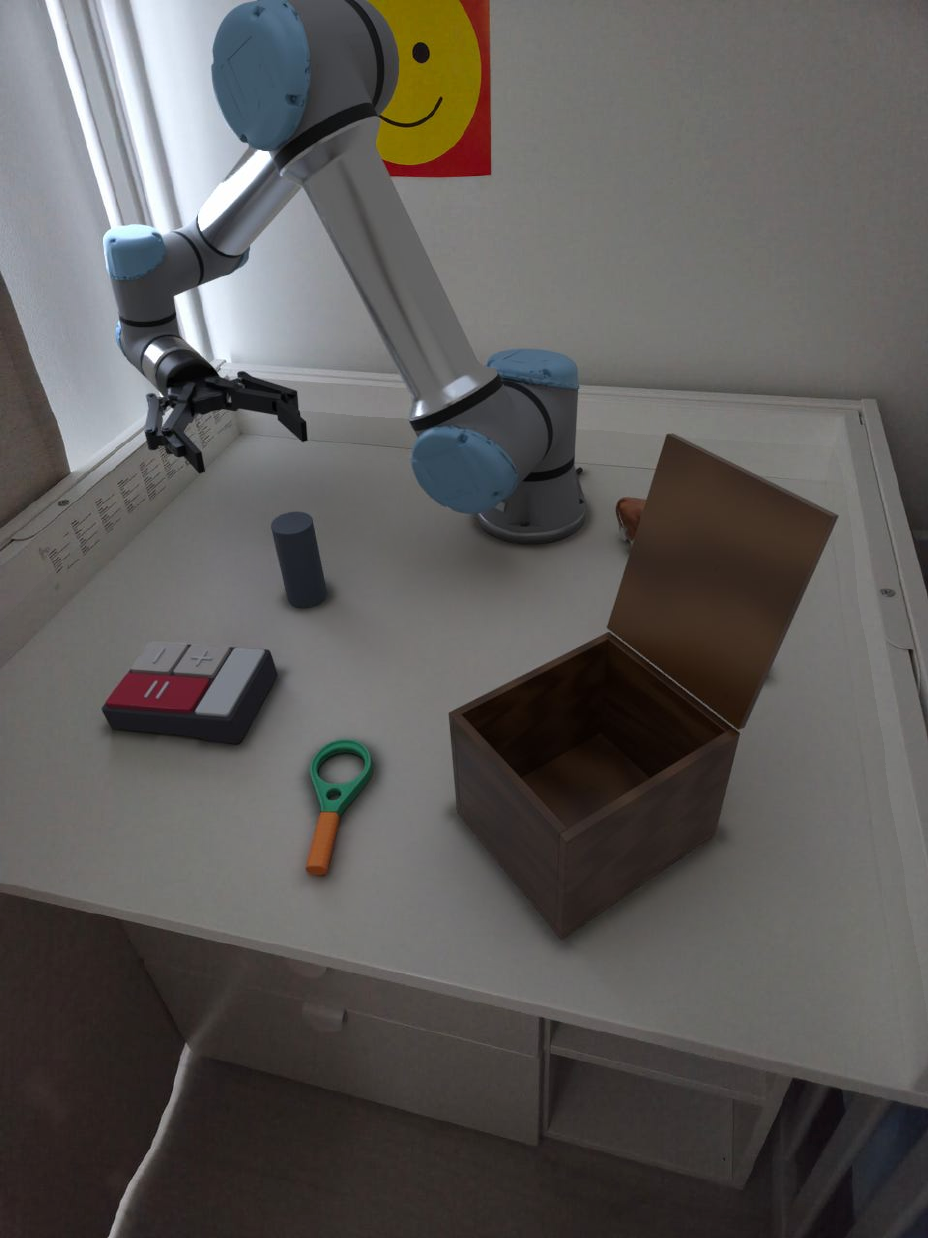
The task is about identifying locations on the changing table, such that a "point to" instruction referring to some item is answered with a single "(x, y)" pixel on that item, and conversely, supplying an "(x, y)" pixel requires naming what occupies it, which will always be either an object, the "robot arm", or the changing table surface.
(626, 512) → the bull figurine
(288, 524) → the canister
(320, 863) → the magnifying glass
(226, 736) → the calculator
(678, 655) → the chest lid
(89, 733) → the changing table surface
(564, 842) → the chest
